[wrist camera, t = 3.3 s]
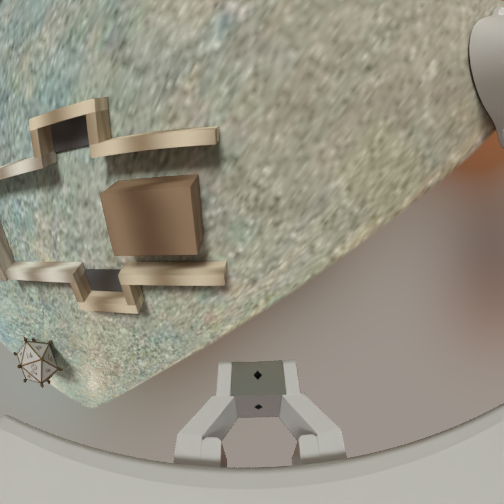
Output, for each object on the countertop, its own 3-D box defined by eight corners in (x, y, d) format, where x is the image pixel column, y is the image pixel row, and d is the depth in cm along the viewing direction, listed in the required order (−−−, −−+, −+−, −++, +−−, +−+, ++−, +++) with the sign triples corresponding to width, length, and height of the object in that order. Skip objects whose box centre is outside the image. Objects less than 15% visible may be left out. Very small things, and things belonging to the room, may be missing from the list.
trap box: (217, 81, 20) (212, 78, 18) (229, 300, 32) (227, 319, 29) (-22, 143, 21) (-38, 150, 18) (23, 291, 32) (13, 304, 29)
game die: (47, 323, 40) (8, 327, 30) (77, 353, 39) (39, 365, 29) (35, 359, 40) (-1, 368, 30) (63, 389, 39) (28, 404, 29)
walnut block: (198, 173, 25) (190, 186, 21) (204, 233, 28) (197, 254, 24) (118, 180, 25) (99, 194, 21) (129, 235, 28) (114, 255, 24)
